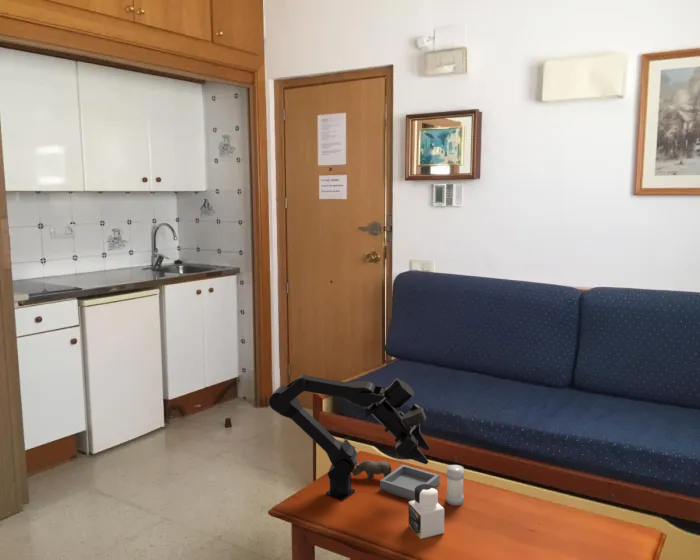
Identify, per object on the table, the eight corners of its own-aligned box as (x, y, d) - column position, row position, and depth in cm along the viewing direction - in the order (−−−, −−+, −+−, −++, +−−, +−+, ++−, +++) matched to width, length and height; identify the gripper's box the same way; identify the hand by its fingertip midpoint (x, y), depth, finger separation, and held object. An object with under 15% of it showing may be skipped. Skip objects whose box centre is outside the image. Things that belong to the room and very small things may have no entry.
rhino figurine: (349, 474, 203) (349, 456, 202) (393, 476, 201) (393, 458, 200) (347, 480, 199) (347, 462, 198) (392, 482, 197) (391, 464, 196)
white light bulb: (458, 507, 182) (459, 473, 180) (443, 502, 185) (443, 469, 183) (466, 500, 186) (466, 467, 184) (451, 495, 189) (451, 463, 187)
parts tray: (417, 502, 185) (417, 492, 185) (380, 489, 193) (380, 480, 192) (439, 484, 196) (439, 475, 195) (402, 473, 203) (402, 464, 203)
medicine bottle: (408, 525, 173) (408, 484, 171) (431, 520, 175) (431, 479, 173) (420, 539, 166) (420, 496, 164) (444, 533, 169) (444, 491, 167)
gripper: (406, 411, 174) (447, 452, 174) (411, 388, 192) (448, 425, 192) (378, 437, 176) (418, 477, 176) (385, 412, 194) (421, 449, 194)
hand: (428, 456), depth 184 cm, fingers open, 9 cm apart
